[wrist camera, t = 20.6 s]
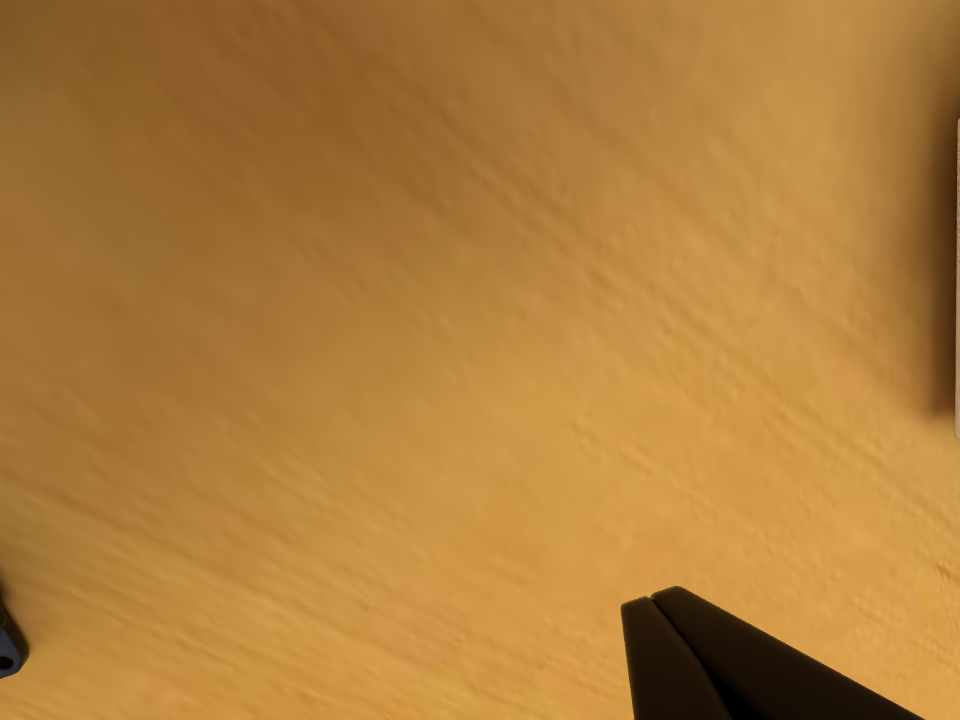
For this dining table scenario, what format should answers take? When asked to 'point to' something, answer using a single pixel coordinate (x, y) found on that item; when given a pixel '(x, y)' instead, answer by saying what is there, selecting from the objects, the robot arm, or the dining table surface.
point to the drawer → (958, 298)
